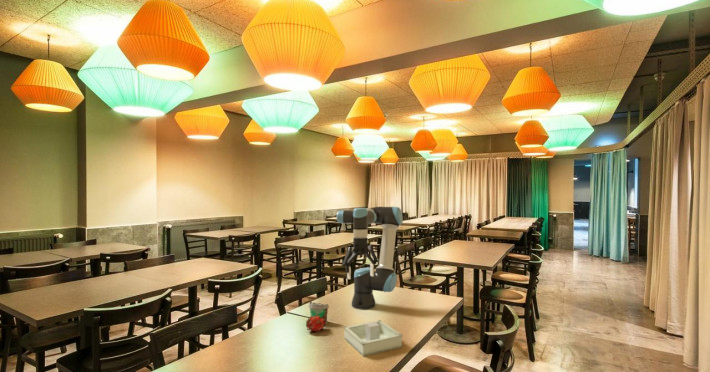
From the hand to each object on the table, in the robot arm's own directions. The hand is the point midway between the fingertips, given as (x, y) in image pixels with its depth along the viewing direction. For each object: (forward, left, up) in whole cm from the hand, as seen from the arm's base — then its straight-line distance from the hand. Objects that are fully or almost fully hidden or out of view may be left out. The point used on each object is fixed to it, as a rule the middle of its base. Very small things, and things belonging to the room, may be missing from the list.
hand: (360, 277), depth 181 cm
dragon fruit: (+22, -8, -27) cm, 36 cm away
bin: (+3, +18, -27) cm, 32 cm away
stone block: (+3, +18, -26) cm, 32 cm away
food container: (+18, -19, -27) cm, 38 cm away
